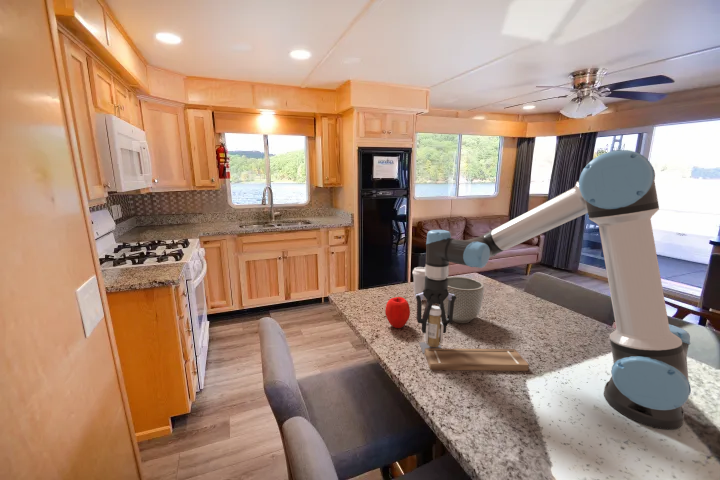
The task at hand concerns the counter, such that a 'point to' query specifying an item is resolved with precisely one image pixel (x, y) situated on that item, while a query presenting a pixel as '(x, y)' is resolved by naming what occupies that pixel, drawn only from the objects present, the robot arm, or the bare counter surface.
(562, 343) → the counter surface
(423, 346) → the end pad
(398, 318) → the apple
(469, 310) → the planter
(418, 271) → the coffee cup
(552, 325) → the counter surface
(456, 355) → the board
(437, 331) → the spice jar
